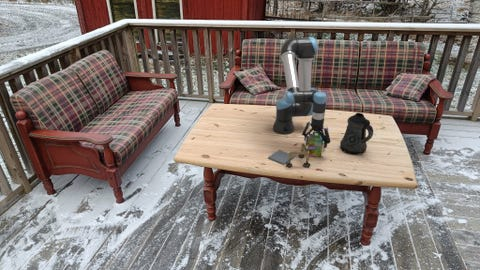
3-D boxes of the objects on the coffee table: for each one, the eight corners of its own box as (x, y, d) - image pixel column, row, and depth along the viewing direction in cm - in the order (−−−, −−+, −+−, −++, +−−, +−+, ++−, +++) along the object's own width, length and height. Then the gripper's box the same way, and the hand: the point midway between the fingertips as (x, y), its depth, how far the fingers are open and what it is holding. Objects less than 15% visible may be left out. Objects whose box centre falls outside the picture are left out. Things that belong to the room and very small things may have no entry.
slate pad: (268, 158, 210) (268, 157, 210) (279, 150, 218) (279, 149, 218) (284, 165, 203) (284, 163, 203) (294, 157, 211) (294, 155, 211)
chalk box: (306, 155, 212) (308, 135, 205) (307, 148, 220) (309, 128, 213) (321, 157, 210) (323, 136, 203) (321, 150, 218) (324, 130, 211)
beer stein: (343, 140, 229) (348, 106, 218) (373, 147, 220) (380, 112, 209) (336, 151, 217) (341, 116, 205) (367, 159, 208) (374, 122, 196)
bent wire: (284, 166, 202) (285, 152, 197) (300, 154, 214) (301, 140, 209) (301, 173, 195) (302, 159, 190) (317, 160, 207) (318, 146, 202)
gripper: (297, 114, 208) (295, 145, 218) (333, 125, 194) (329, 157, 204) (304, 110, 213) (301, 140, 223) (339, 120, 199) (334, 152, 209)
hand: (314, 148), depth 214 cm, fingers closed on chalk box, 12 cm apart
